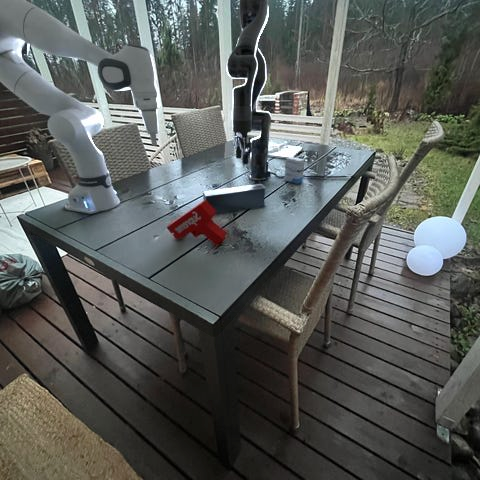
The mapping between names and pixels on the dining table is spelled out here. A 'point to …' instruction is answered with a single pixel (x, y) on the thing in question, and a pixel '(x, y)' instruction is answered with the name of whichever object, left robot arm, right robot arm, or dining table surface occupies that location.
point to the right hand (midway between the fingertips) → (241, 161)
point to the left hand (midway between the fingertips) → (153, 142)
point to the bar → (236, 198)
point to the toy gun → (198, 224)
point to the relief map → (282, 150)
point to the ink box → (294, 170)
